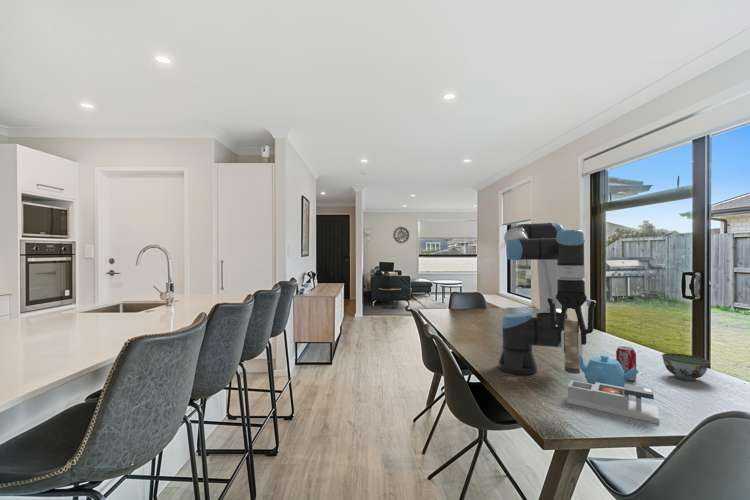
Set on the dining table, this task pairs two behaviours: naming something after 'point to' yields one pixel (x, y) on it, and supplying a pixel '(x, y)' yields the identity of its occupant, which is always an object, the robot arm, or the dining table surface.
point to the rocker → (638, 391)
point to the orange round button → (611, 391)
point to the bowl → (685, 366)
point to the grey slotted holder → (610, 401)
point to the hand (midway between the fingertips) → (572, 353)
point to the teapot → (605, 371)
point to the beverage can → (626, 359)
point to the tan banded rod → (571, 346)
